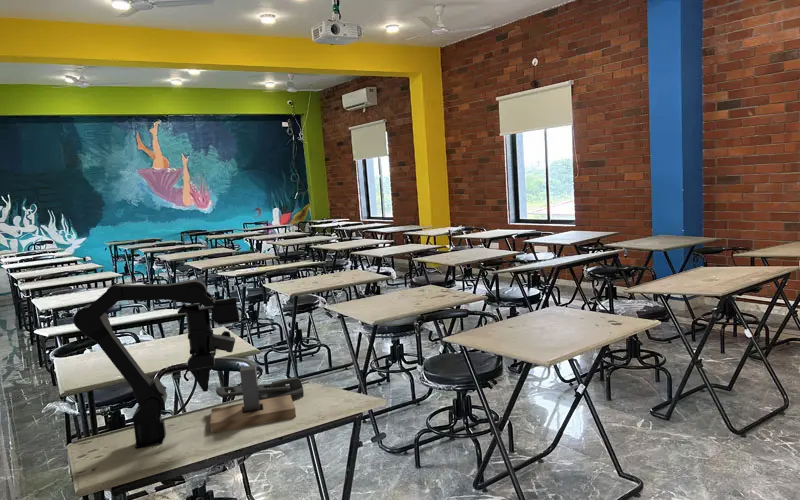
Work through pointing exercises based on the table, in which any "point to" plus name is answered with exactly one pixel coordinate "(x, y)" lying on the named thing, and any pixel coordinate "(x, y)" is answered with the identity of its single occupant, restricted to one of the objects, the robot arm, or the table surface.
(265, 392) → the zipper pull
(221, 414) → the post foot
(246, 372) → the dark grey square post
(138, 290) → the robot arm
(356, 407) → the table surface
